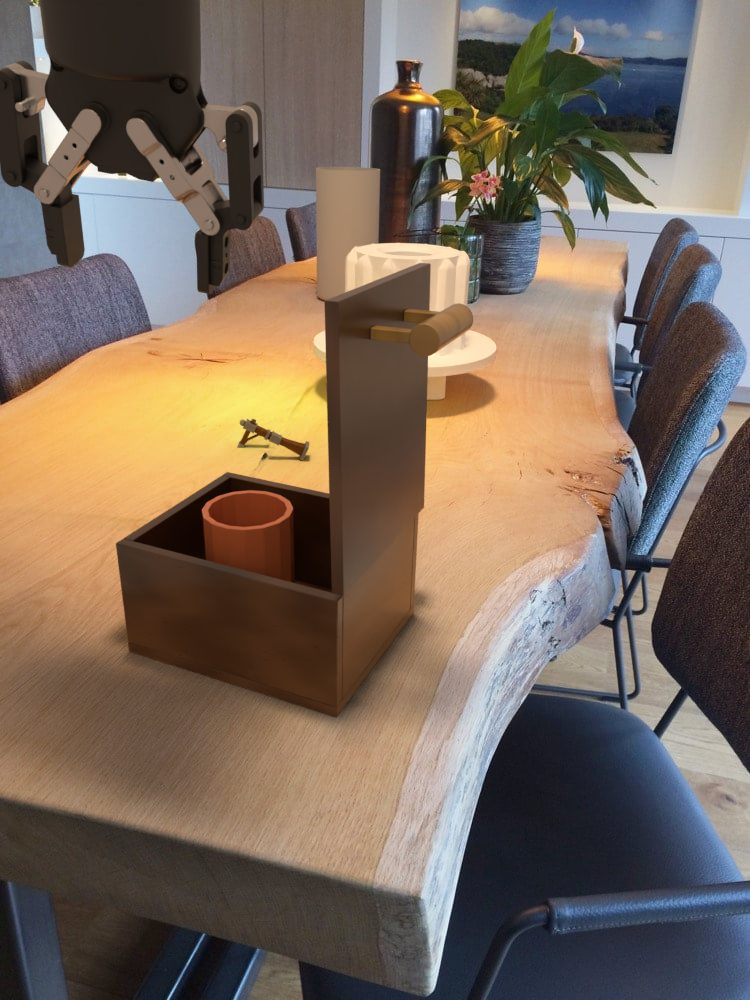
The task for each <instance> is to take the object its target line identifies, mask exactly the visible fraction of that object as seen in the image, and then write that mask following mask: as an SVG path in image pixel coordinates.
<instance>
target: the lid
mask: <svg viewBox="0 0 750 1000" xmlns="http://www.w3.org/2000/svg"><path fill="white" fill-rule="evenodd" d="M430 271H431V264H430V263H418V264H416V265H413V266H411V267H408V268H406V269H403V270H401V271H398V272H396V273H393V274H391V275H388V276H386V277H383V278H381V279H378V280H376V281H373V282H371V283H368V284H366V285H363V286H361V287H358V288H355V289H353V290H350V291H348V292H345V293H343V294H340V295H338V296H335V297H333V298H330V299H328V300H325V301H324V331H325V341H326V362H325V375H326V381H325V382H326V415H327V419H326V421H327V454H328V455H327V457H328V459H327V460H328V461H327V462H328V493H329V501H330V540H331V580H332V593H333V594H337V595H341V596H344V595H345V594H346V592H347V591H348V590H349V589H350V588H351V587H352V586H353V585H354V584H355V583H356V581H357V580H358V579H359V578H360V577H361V576H362V575H363V574H364V573H365V572H366V571H367V569H368V568H369V567H370V566H371V565H372V564H373V563H374V562H375V561H376V560H377V558H378V557H379V556H380V555H381V554H382V553H383V552H384V551H385V550H386V549H387V548H388V546H389V545H390V544H391V543H392V542H393V541H394V540H395V539H396V538H397V537H398V535H399V534H400V533H401V532H402V531H403V530H404V529H405V528H406V527H407V526H408V524H409V523H410V522H411V521H412V520H413V519H414V518H415V517H416V516H417V515H418V514H420V513H421V512H422V510H423V509H424V508H425V491H426V490H425V487H426V484H425V483H426V453H427V449H426V448H427V412H428V410H427V409H428V407H427V406H428V400H427V381H428V356H430V355H433V354H434V353H436V352H437V351H439V350H440V349H442V348H443V347H445V346H446V345H448V344H449V343H450V342H452V341H453V340H455V339H456V338H458V337H459V336H461V335H462V334H464V333H465V332H467V331H468V330H471V328H472V327H473V325H474V324H473V323H474V314H473V311H472V310H471V309H470V307H468V305H467V306H466V305H464V304H454V305H452V306H450V307H448V308H446V309H444V310H443V311H441V312H438V311H429V308H430Z"/></svg>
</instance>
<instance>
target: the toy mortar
mask: <svg viewBox="0 0 750 1000" xmlns="http://www.w3.org/2000/svg"><path fill="white" fill-rule="evenodd" d="M239 425H240V426H241V427H242V429H243V430H245V431H244V432H243V435H242V438H241V439H240V440H239V441H238V443H237V447H236V448H237V449H244V448H245V446H246V444H247V443H248V442H249V441H251V440H253V439H255V438H257V437H262V438H264V440H265V441H267V440H268V442H269V443H273V444H275V445H277V446H282V447H284V448H285V449H287V450H289V451H291V452H293V453H294V454H297V455H298V457H299V460H301V461H302V462H303V461H304V459H305V457H306V455H307V453H308V451H309V449H310V441H307V440H306V441H305V442H299V441H296V440H294V439H293V440H292V439H289V438H286V437H284V436H283V435H282V434H279V433H278V432H275V431H274V430H273V431H271V429H270V428H264V427H262V426H260V425H259V424H258V422H257V419H255V418H252V419H251V420H250V419H249V418H246V419H240V420H239ZM251 433H252V434H254V435H251V436H250V434H251ZM246 447H247V448H248V447H249V446H246ZM261 458H263V459H266V458H268V453H267V452H264V453H263V454H262V456H261Z"/></svg>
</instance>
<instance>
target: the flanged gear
mask: <svg viewBox="0 0 750 1000" xmlns="http://www.w3.org/2000/svg"><path fill="white" fill-rule="evenodd" d="M418 263H430V264H431V271H430V308H429V311H438V312H441V311H443V310H444V309H446V308H448V307H450V306H452V305H454V304H464V305H466V306H467V307H468V299H469V286H470V274H471V273H470V272H471V259H470V256H469V255H468V254H467V252H466V251H465V250H459V249H456V248H453V247H451V246H444V245H437V244H429V243H414V242H413V243H411V242H386V243H385V242H383V243H378V244H374V243H372V244H371V245H364V246H360V247H358V246H355V247H354V248H353V249H352V250H351V252H349V253H348V255H347V256H346V260H345V292H348V291H350V290H353V289H355V288H358V287H361V286H363V285H366V284H368V283H371V282H373V281H376V280H378V279H381V278H383V277H386V276H388V275H391V274H393V273H396V272H398V271H401V270H403V269H406V268H408V267H411V266H413V265H416V264H418ZM312 350H313V353H314V355H315V357H316V358H318V359H319V360H321V361H322V362H323V363H326V341H325V330H322V331H321V332H319V333H318V334H317V335H314V338H313V349H312ZM496 357H497V344H496V343H495V341H494V340H493V339H491V338H490V337H488V336H487V335H484V334H482V333H480V332H478V331H475V330H471V329H469V330H468V331H467V332H465V333H464V334H462V335H461V336H459V337H458V338H456V339H455V340H453V341H452V342H450V343H449V344H448V345H446V346H445V347H443V348H442V349H440V350H439V351H437V352H436V353H434V354H433V355H430V356H428V381H427V401H441V400H444V399H445V398H446V385H447V377H449V376H456V375H463V374H468V373H472V372H475V371H479V370H482V369H484V368H486V367H488V366H490V365H491V364H492V363H494V361H495V360H496Z"/></svg>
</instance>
